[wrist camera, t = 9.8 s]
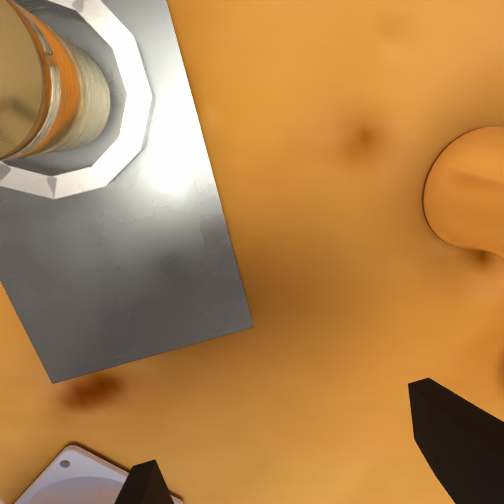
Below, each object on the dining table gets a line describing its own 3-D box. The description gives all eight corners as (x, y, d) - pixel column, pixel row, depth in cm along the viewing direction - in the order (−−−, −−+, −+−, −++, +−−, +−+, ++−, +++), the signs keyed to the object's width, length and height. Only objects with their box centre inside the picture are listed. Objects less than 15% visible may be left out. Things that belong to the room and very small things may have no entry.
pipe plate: (251, 317, 20) (258, 343, 17) (59, 371, 19) (40, 405, 17) (136, -112, 14) (123, -162, 11) (-148, -52, 13) (-225, -92, 11)
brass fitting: (70, 171, 15) (-27, 203, 9) (-25, 99, 14) (-221, 71, 7) (131, 92, 15) (79, 63, 8) (38, 10, 13) (-114, -104, 7)
